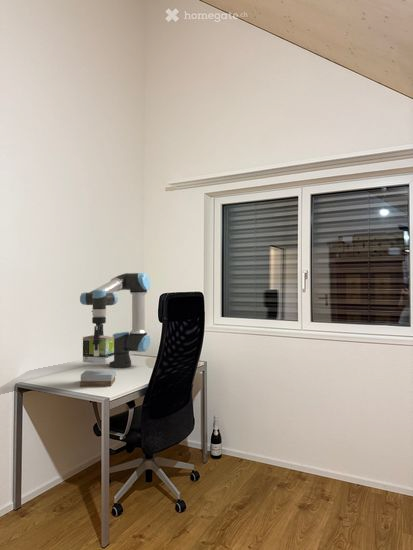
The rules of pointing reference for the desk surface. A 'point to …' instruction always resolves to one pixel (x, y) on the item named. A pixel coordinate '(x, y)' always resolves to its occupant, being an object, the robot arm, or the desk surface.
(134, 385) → the desk surface
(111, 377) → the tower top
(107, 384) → the tower base
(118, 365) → the robot arm
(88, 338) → the tea box
